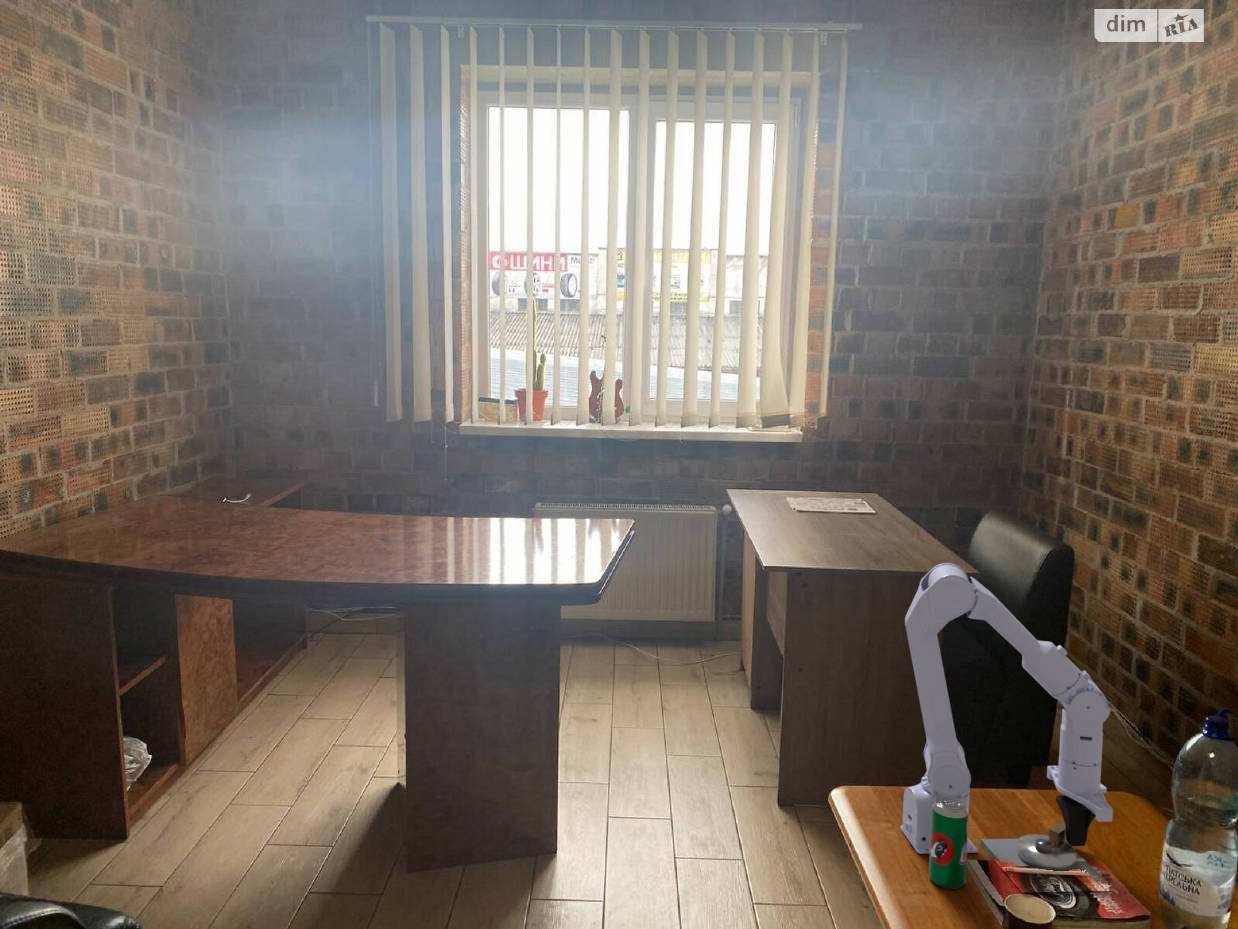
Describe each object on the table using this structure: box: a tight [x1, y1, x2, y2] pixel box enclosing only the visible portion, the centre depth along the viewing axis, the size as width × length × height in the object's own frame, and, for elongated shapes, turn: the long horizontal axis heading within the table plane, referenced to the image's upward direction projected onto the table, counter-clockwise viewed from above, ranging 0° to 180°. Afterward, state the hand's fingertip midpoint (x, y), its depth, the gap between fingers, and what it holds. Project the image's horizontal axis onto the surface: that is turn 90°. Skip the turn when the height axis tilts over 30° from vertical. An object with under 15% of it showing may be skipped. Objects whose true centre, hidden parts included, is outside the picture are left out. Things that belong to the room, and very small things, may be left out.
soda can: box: [928, 797, 970, 890], centre depth 130 cm, size 5×5×12 cm
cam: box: [1017, 820, 1077, 871], centre depth 137 cm, size 14×8×4 cm, turn 127°
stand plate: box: [980, 838, 1111, 886], centre depth 134 cm, size 13×13×1 cm
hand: (1075, 844), depth 136 cm, fingers closed, pressing on cam
